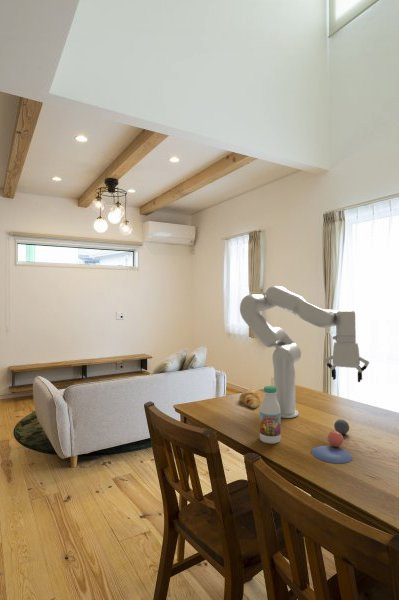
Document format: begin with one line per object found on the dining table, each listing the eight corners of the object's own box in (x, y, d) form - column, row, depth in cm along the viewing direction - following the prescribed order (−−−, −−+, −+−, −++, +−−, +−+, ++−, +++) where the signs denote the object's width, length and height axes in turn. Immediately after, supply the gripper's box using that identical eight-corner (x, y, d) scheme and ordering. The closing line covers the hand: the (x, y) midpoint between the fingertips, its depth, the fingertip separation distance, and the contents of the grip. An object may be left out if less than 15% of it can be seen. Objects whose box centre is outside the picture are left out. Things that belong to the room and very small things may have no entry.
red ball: (327, 448, 123) (327, 433, 123) (326, 442, 128) (326, 427, 128) (344, 450, 121) (344, 435, 121) (342, 444, 127) (342, 429, 127)
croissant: (260, 416, 167) (268, 402, 167) (242, 407, 166) (250, 392, 166) (249, 402, 188) (256, 389, 188) (233, 394, 187) (240, 381, 187)
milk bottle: (257, 436, 134) (257, 384, 134) (276, 435, 135) (277, 384, 135) (262, 444, 127) (262, 390, 126) (283, 443, 127) (283, 389, 127)
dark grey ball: (334, 435, 135) (334, 421, 135) (333, 430, 140) (333, 416, 140) (350, 437, 133) (350, 422, 133) (348, 431, 139) (348, 418, 139)
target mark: (307, 457, 116) (307, 456, 116) (316, 443, 127) (316, 443, 127) (349, 467, 110) (349, 466, 110) (354, 451, 121) (354, 451, 121)
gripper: (322, 339, 146) (323, 380, 146) (367, 341, 137) (368, 384, 137) (326, 337, 153) (326, 376, 153) (369, 339, 144) (370, 380, 144)
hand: (346, 380), depth 145 cm, fingers open, 9 cm apart
